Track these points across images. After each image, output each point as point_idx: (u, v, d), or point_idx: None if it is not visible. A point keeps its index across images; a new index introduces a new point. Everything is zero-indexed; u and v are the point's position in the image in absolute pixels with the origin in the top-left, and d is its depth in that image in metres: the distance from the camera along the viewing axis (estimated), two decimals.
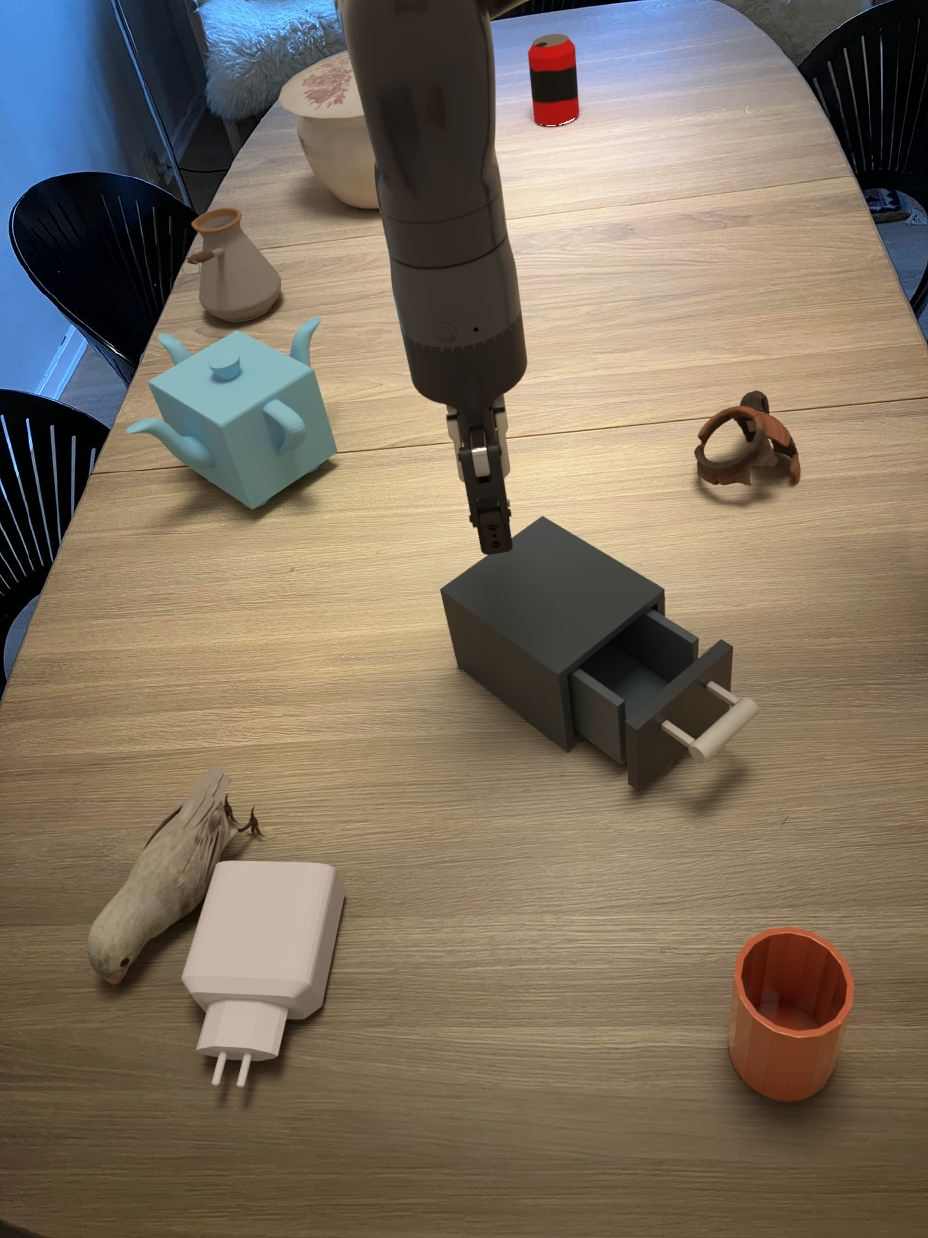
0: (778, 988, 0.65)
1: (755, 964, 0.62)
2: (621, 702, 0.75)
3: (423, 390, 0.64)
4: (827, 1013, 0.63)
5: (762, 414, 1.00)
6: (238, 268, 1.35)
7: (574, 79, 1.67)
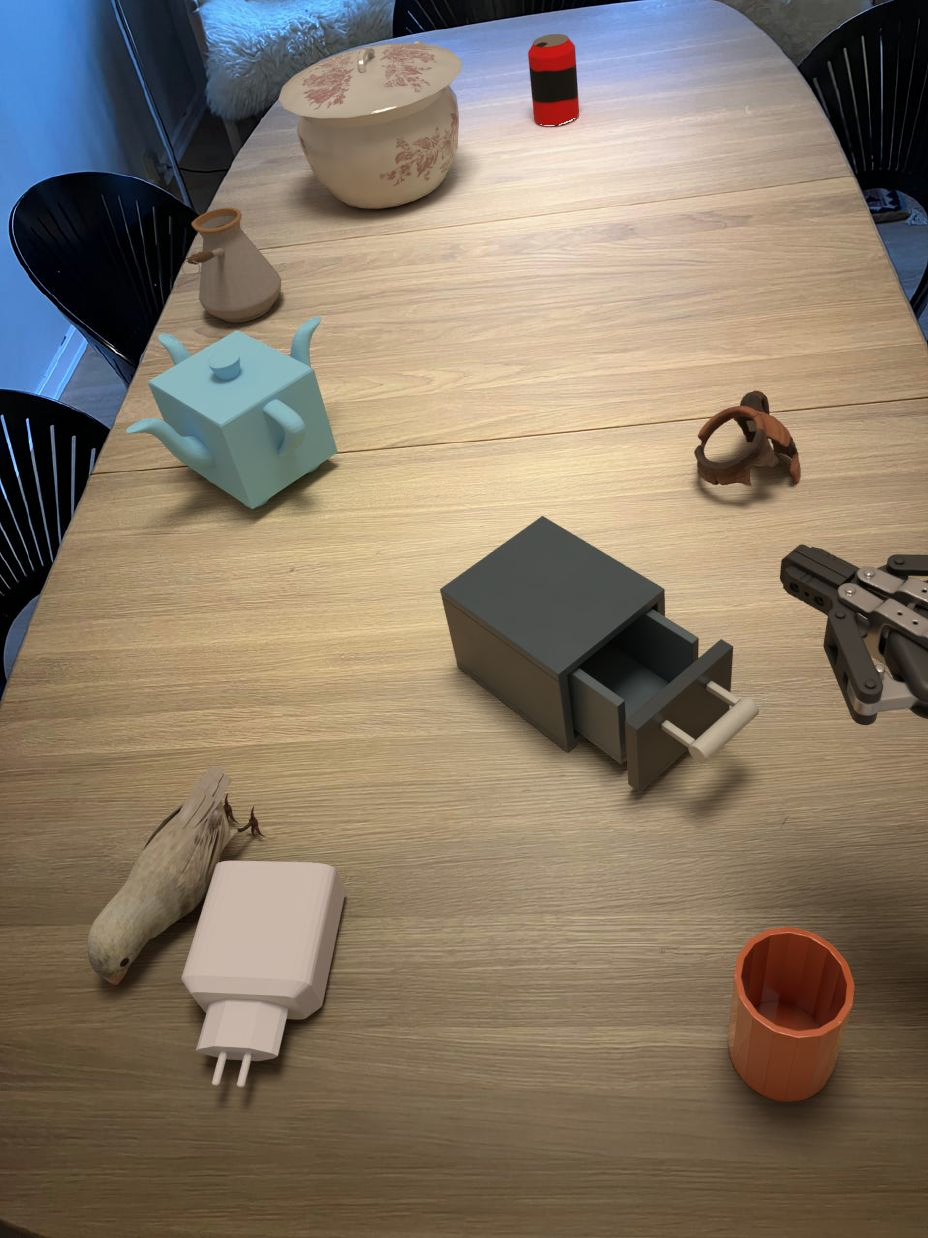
0: (778, 988, 0.65)
1: (755, 964, 0.62)
2: (621, 702, 0.75)
3: None
4: (827, 1013, 0.63)
5: (762, 414, 1.00)
6: (238, 268, 1.35)
7: (574, 79, 1.67)
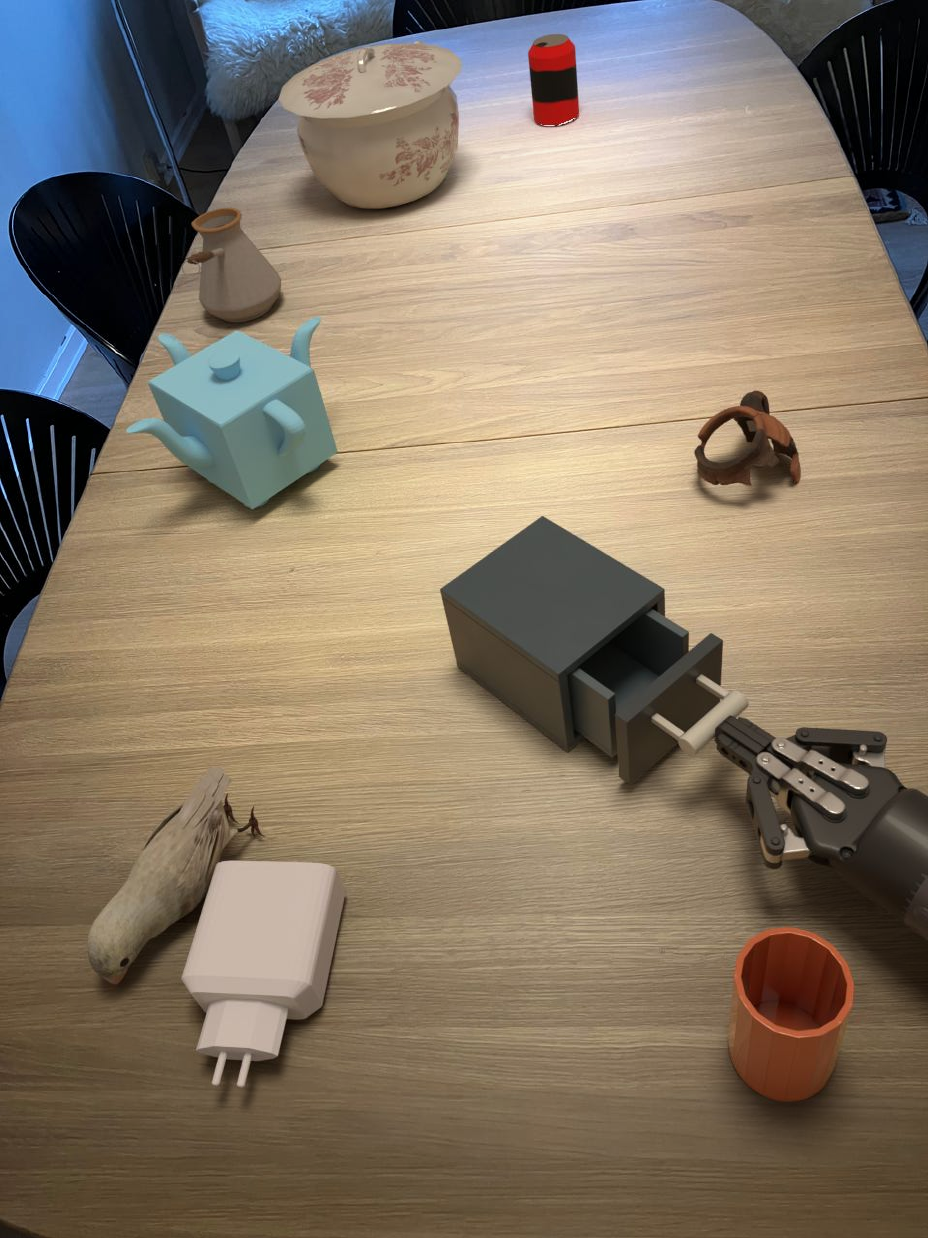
0: (778, 988, 0.65)
1: (755, 964, 0.62)
2: (611, 695, 0.76)
3: (874, 839, 0.63)
4: (827, 1013, 0.63)
5: (762, 414, 1.00)
6: (238, 268, 1.35)
7: (574, 79, 1.67)
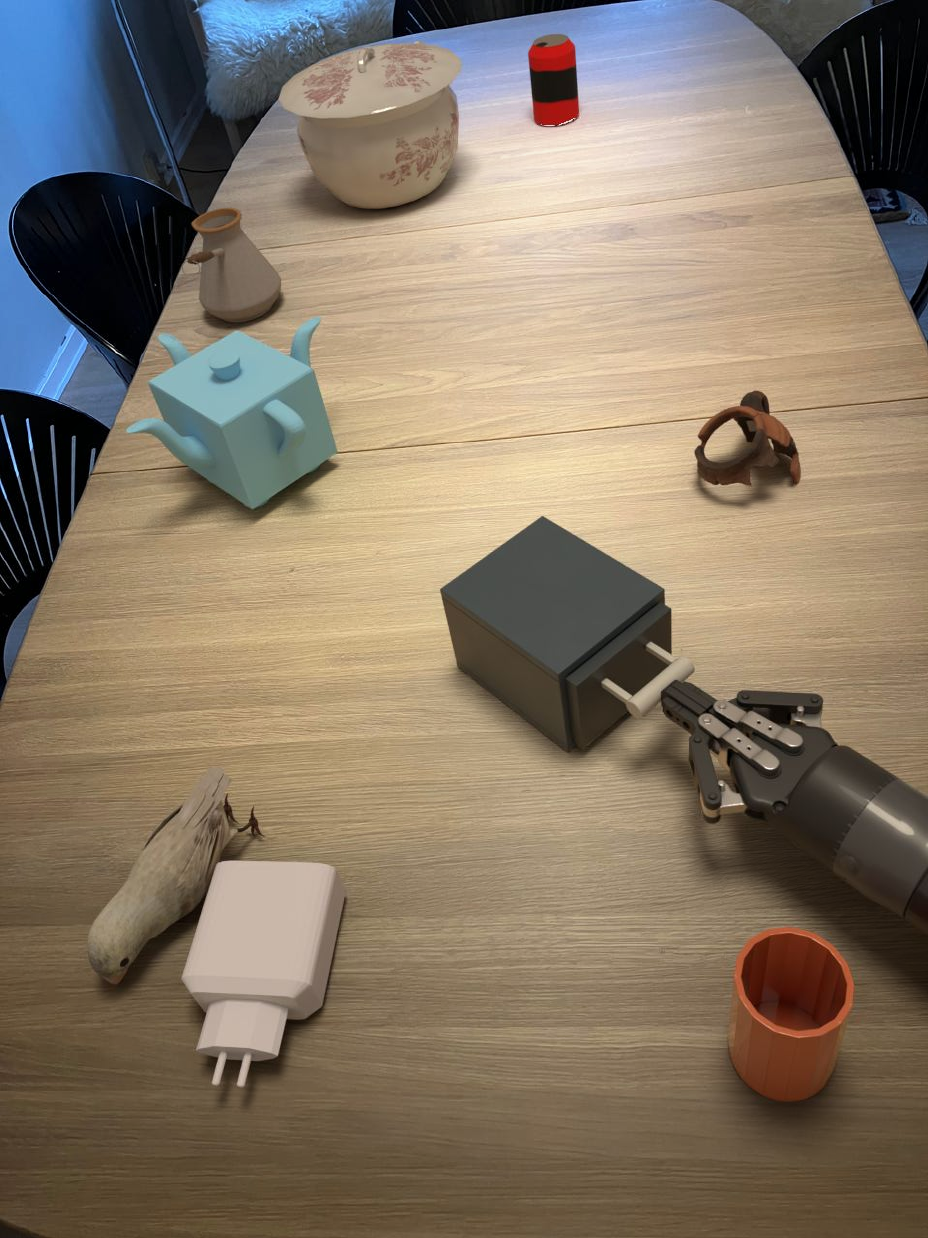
0: (778, 988, 0.65)
1: (755, 964, 0.62)
2: None
3: (804, 792, 0.66)
4: (827, 1013, 0.63)
5: (762, 414, 1.00)
6: (238, 268, 1.35)
7: (574, 79, 1.67)
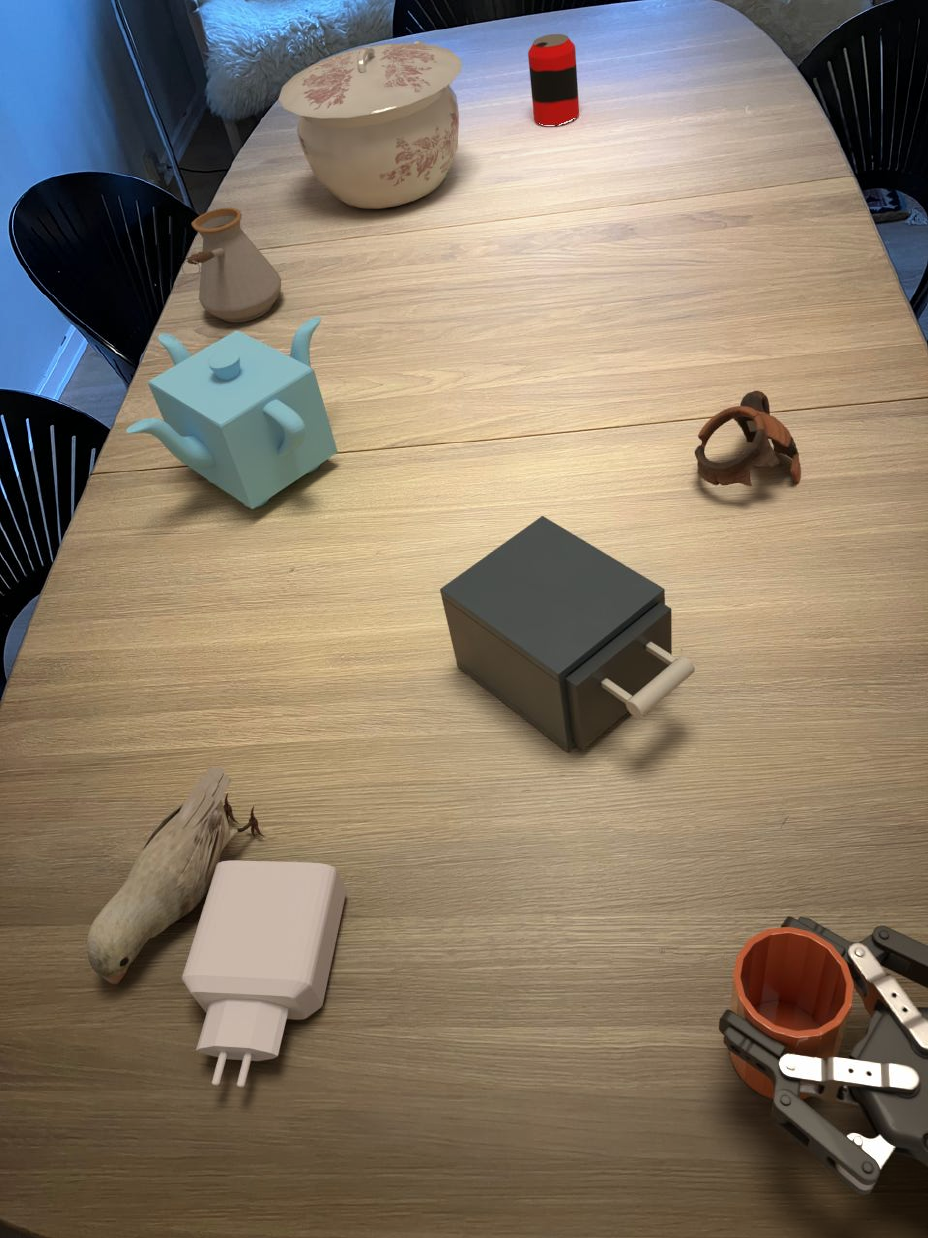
0: (778, 988, 0.65)
1: (755, 964, 0.62)
2: None
3: None
4: (827, 1013, 0.63)
5: (762, 414, 1.00)
6: (238, 268, 1.35)
7: (574, 79, 1.67)
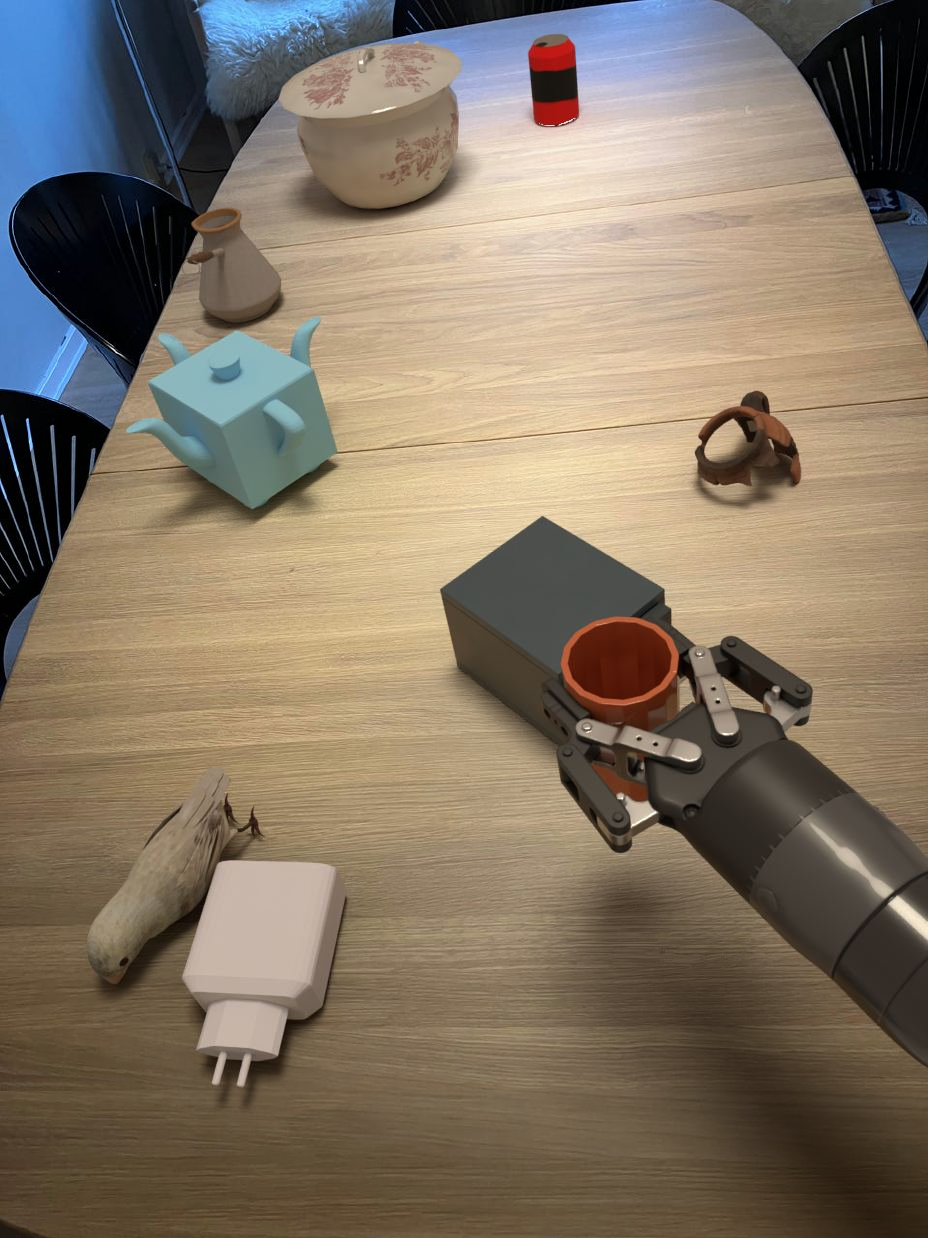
0: None
1: (604, 657, 0.61)
2: None
3: (721, 796, 0.49)
4: None
5: (762, 414, 1.00)
6: (238, 268, 1.35)
7: (574, 79, 1.67)
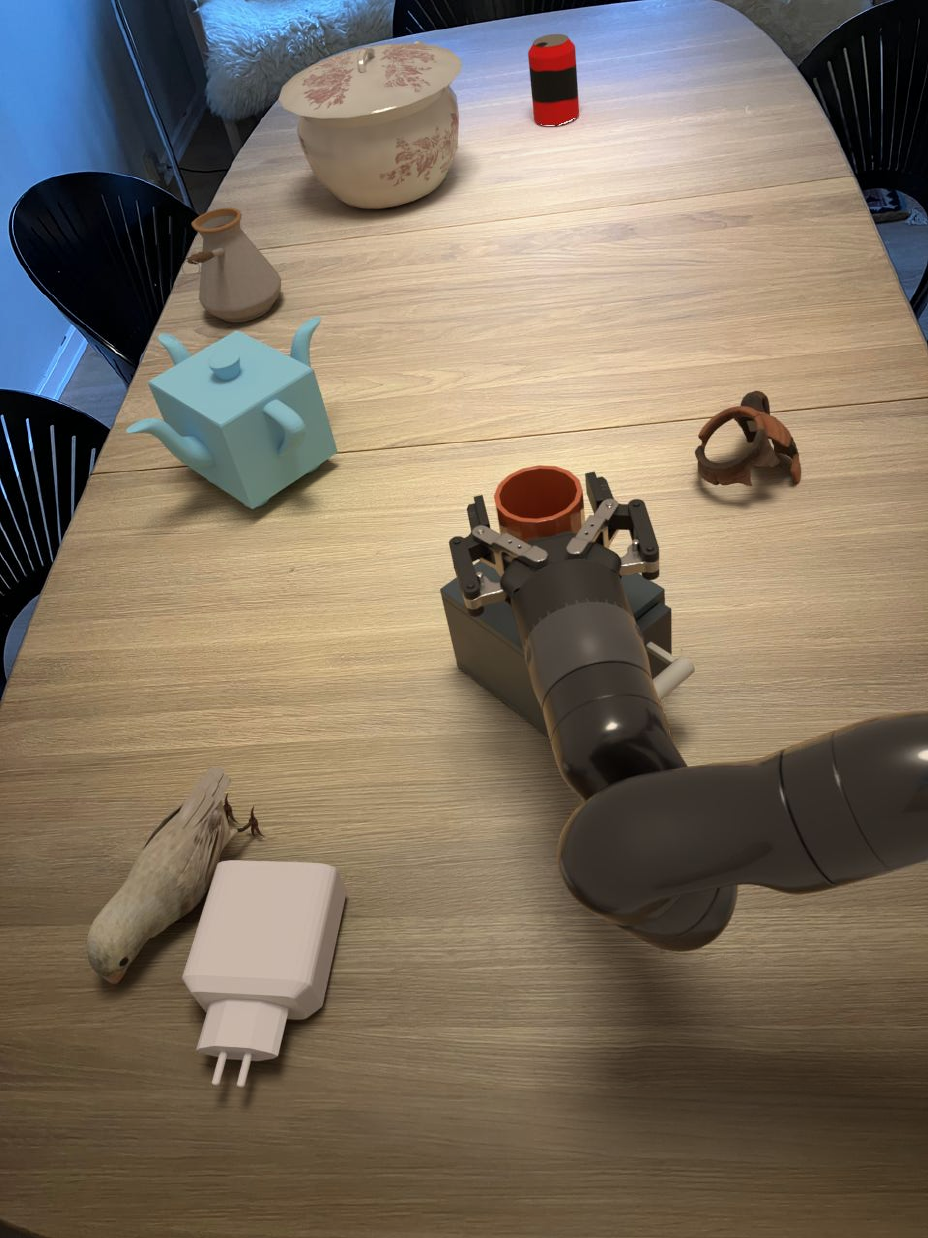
0: None
1: (545, 498, 0.79)
2: None
3: (531, 581, 0.67)
4: None
5: (763, 414, 1.00)
6: (238, 268, 1.35)
7: (574, 79, 1.67)
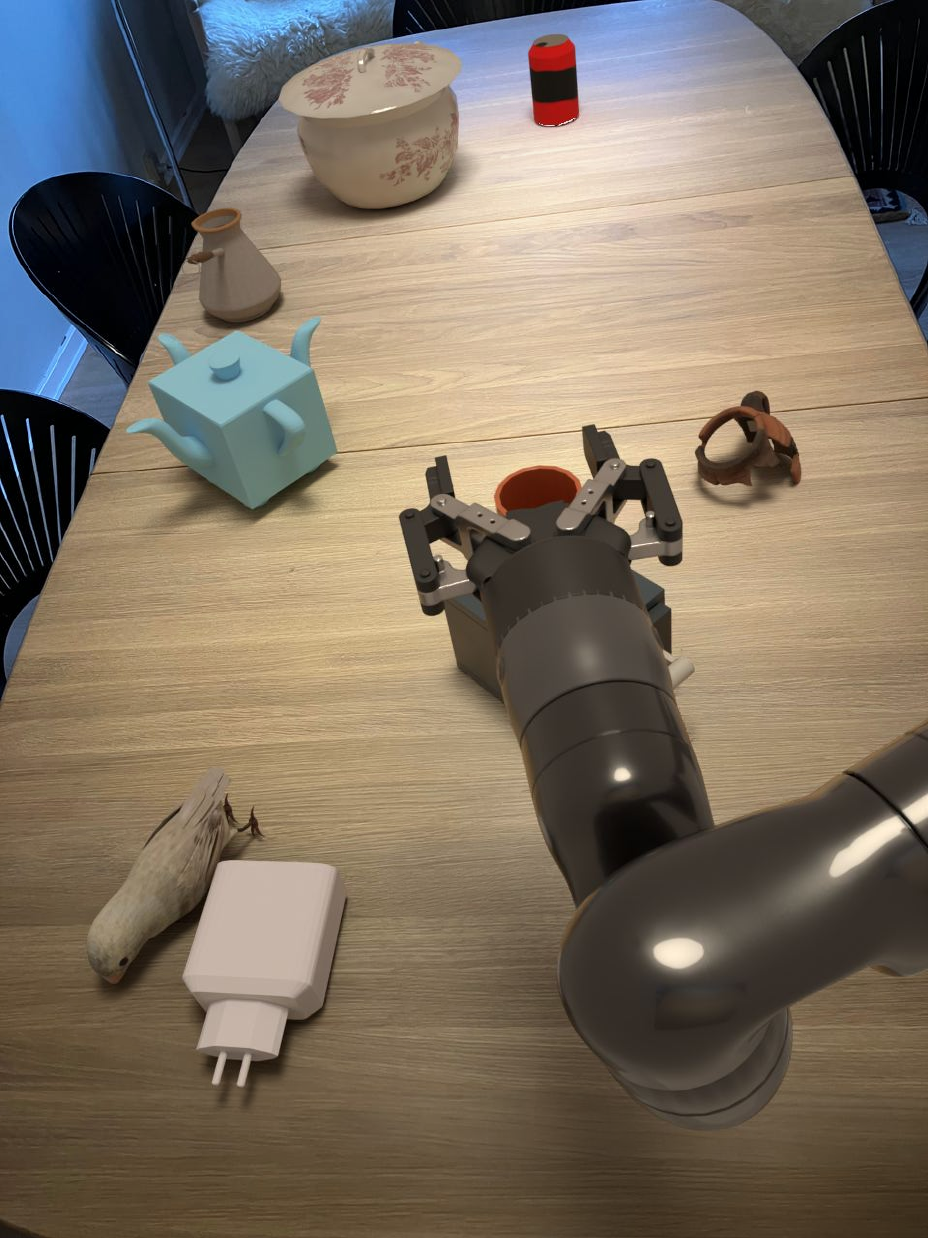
0: None
1: (545, 498, 0.79)
2: None
3: (507, 567, 0.48)
4: None
5: (763, 414, 1.00)
6: (238, 268, 1.35)
7: (574, 79, 1.67)
